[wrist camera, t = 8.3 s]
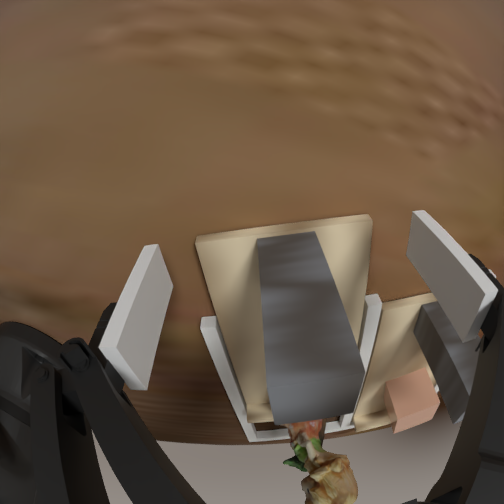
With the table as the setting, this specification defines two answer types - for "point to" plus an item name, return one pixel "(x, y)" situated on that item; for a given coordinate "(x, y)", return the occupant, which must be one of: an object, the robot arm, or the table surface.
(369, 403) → the strip
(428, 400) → the terracotta cube
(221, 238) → the strip
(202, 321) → the lane board
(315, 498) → the figurine
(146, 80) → the table surface
